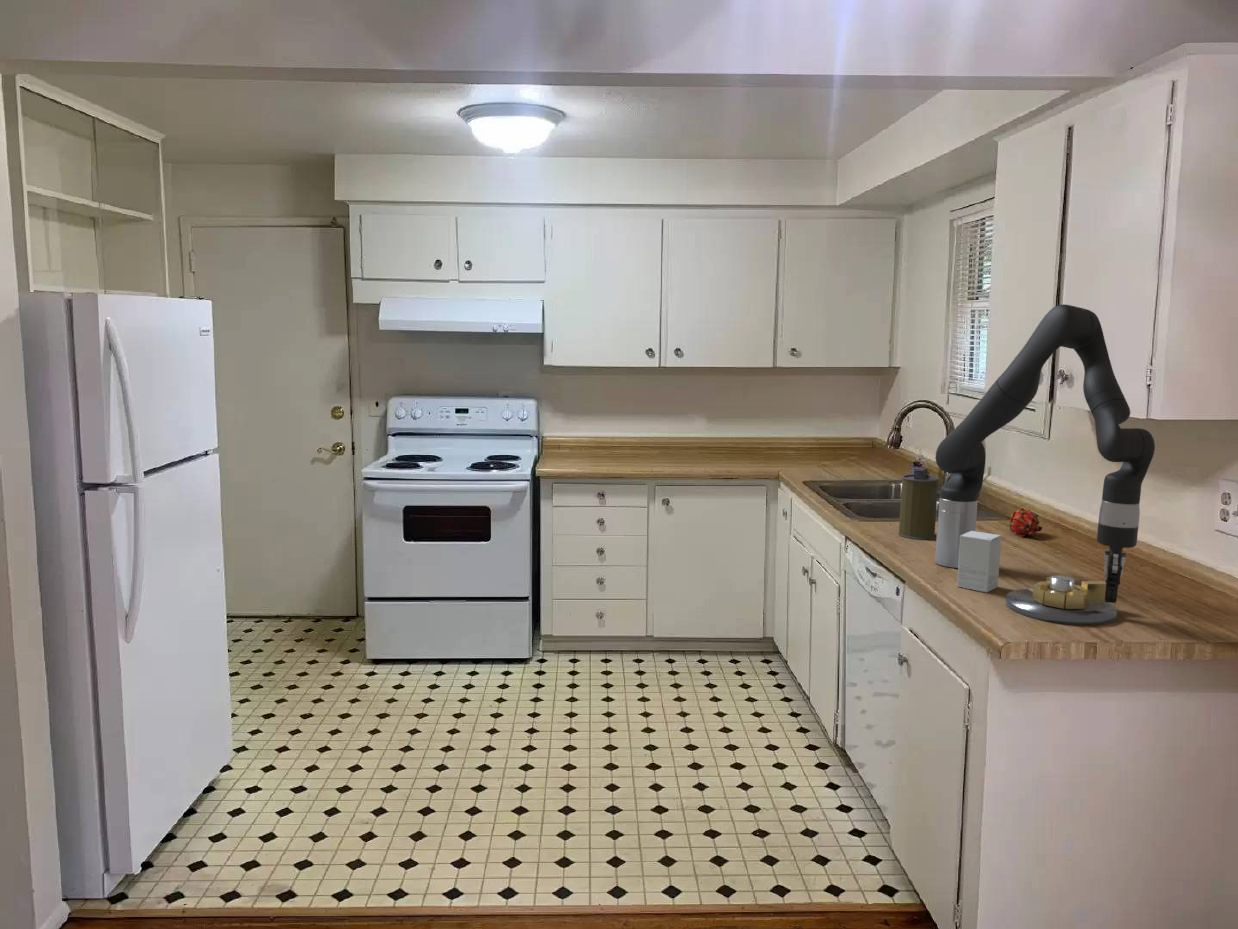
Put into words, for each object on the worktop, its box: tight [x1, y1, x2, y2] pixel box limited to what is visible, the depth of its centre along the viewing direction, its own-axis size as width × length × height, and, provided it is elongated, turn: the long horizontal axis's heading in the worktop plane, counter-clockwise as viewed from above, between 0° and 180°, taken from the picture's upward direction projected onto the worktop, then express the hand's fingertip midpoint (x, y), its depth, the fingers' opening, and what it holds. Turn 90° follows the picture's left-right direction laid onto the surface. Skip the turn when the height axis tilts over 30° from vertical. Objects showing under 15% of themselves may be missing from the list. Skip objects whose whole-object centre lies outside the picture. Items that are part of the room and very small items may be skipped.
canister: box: [897, 467, 940, 540], centre depth 274 cm, size 11×10×20 cm
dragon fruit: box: [1008, 508, 1043, 538], centre depth 278 cm, size 8×8×12 cm
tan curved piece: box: [1032, 576, 1106, 609], centre depth 205 cm, size 16×11×4 cm, turn 95°
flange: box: [1005, 575, 1118, 626], centre depth 204 cm, size 22×22×7 cm
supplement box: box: [956, 530, 1002, 593], centre depth 221 cm, size 7×7×13 cm
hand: (1110, 601), depth 200 cm, fingers closed
